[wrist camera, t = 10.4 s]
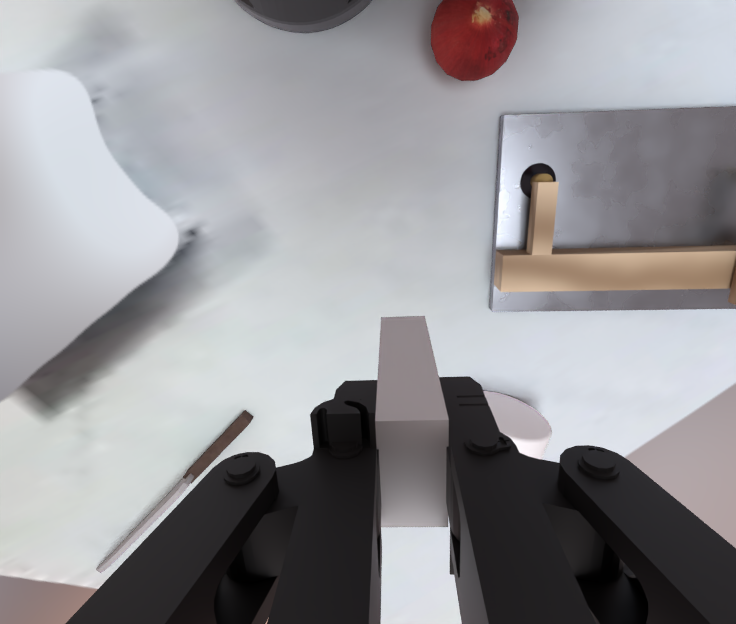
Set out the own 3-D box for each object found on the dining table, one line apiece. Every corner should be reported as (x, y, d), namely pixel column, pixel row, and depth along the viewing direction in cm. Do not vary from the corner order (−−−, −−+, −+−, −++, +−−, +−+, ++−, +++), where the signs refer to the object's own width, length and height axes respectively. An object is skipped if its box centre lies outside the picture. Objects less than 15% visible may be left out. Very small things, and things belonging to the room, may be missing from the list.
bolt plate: (500, 116, 35) (504, 114, 34) (817, 104, 34) (832, 102, 33) (489, 307, 40) (492, 312, 39) (765, 303, 39) (776, 308, 37)
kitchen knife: (234, 427, 41) (70, 599, 48) (243, 434, 42) (78, 604, 49) (248, 405, 46) (94, 566, 53) (256, 411, 46) (102, 571, 53)
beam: (500, 174, 35) (508, 175, 33) (815, 165, 34) (847, 164, 32) (493, 284, 38) (500, 292, 36) (784, 279, 37) (811, 287, 34)
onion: (505, 1, 33) (541, -50, 25) (500, 87, 34) (532, 64, 27) (427, 5, 33) (438, -44, 25) (426, 90, 35) (436, 68, 27)
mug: (535, 399, 43) (567, 449, 35) (504, 482, 46) (527, 544, 38) (415, 374, 42) (421, 418, 35) (392, 458, 46) (393, 516, 38)
